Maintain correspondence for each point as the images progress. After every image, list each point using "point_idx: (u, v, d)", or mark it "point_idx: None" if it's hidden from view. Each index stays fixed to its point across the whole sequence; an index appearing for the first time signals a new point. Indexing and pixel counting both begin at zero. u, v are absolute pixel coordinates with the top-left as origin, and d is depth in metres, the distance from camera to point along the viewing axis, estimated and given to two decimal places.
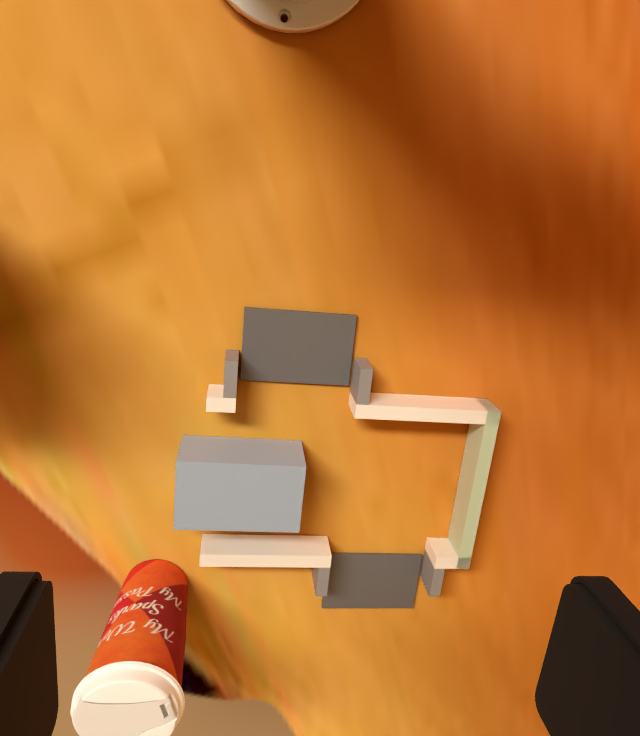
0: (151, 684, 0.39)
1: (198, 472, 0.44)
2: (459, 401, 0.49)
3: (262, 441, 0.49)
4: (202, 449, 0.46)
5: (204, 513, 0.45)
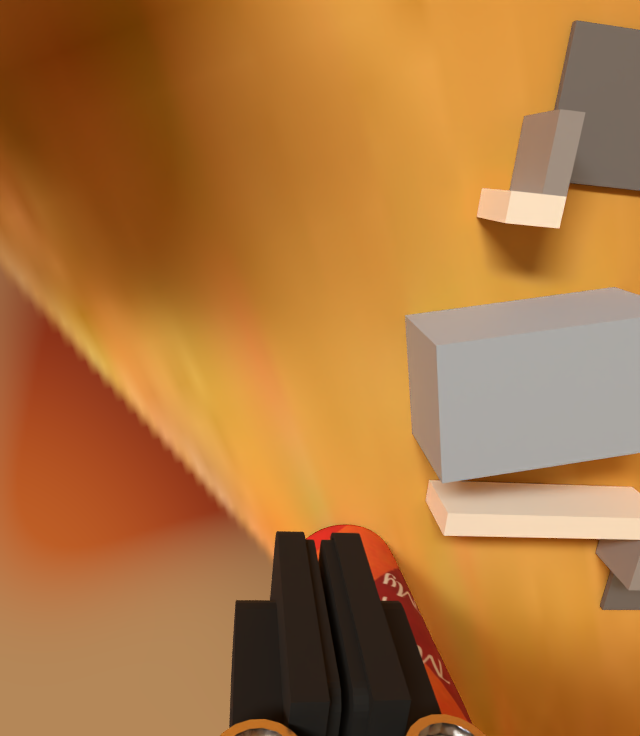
0: None
1: (480, 361, 0.22)
2: None
3: (550, 298, 0.26)
4: (462, 324, 0.24)
5: (497, 442, 0.23)
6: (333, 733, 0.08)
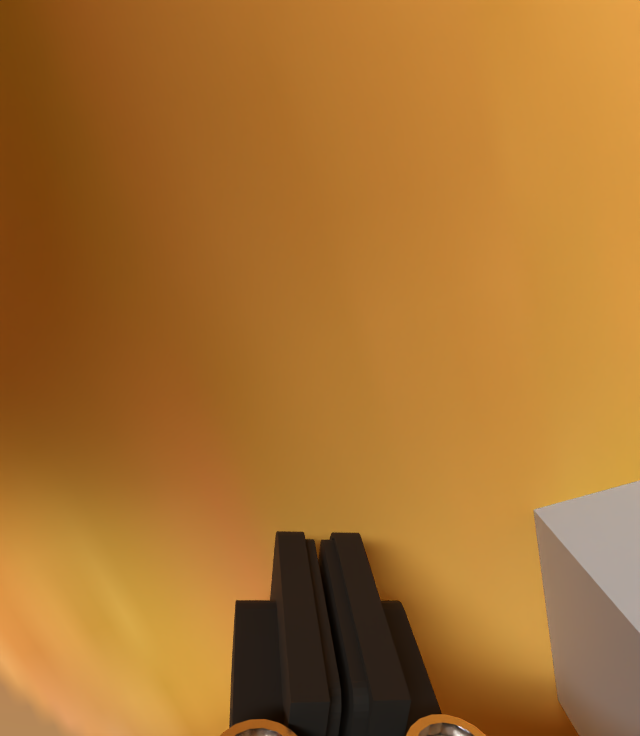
0: None
1: None
2: None
3: None
4: None
5: None
6: (333, 733, 0.08)
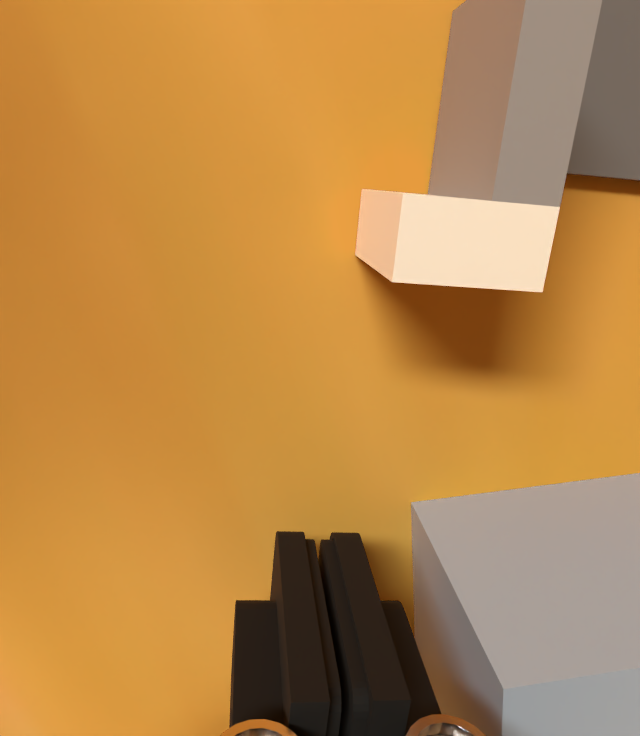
0: None
1: (612, 716, 0.09)
2: None
3: None
4: (550, 572, 0.10)
5: None
6: (333, 733, 0.08)
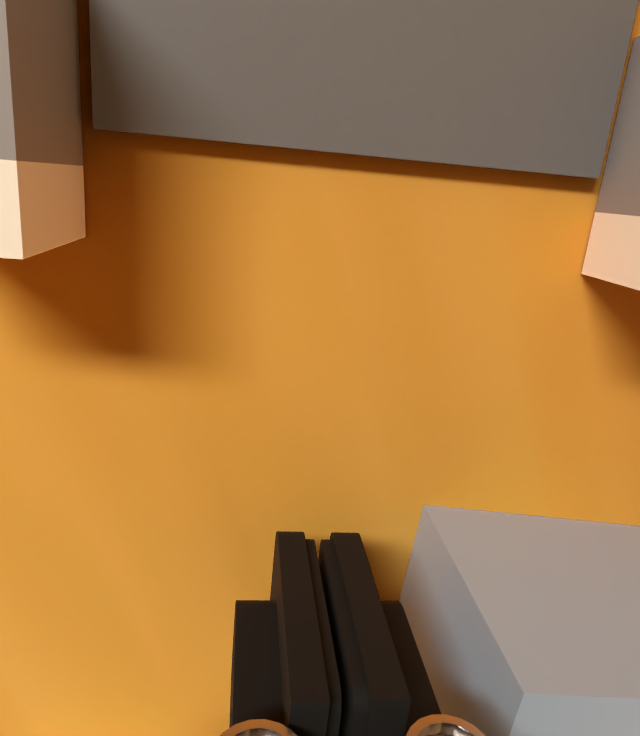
0: None
1: None
2: None
3: None
4: (562, 596, 0.10)
5: None
6: (333, 733, 0.08)
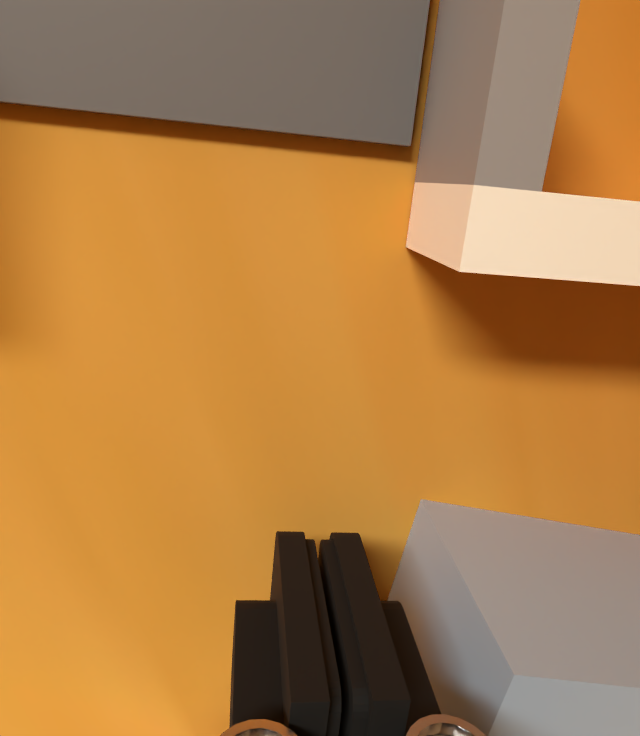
0: None
1: (593, 729, 0.09)
2: None
3: None
4: (550, 589, 0.11)
5: None
6: (333, 733, 0.08)
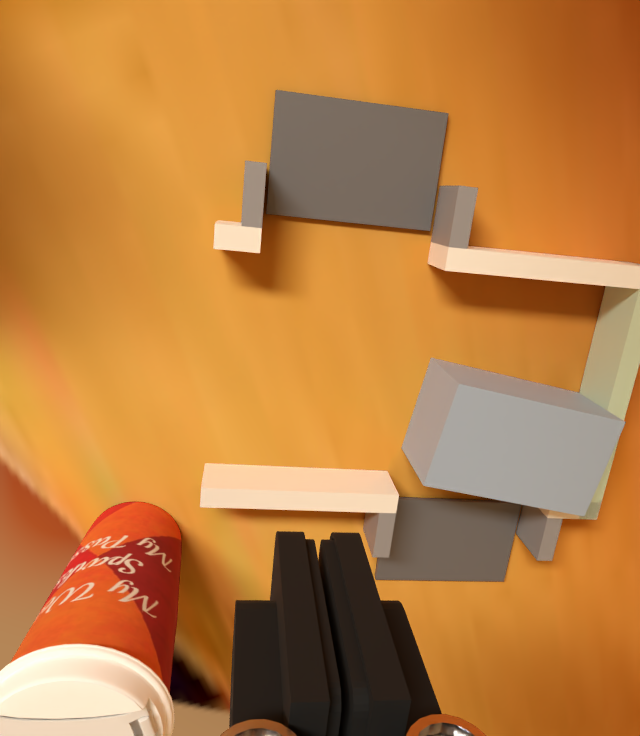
0: (115, 684, 0.22)
1: (483, 406, 0.30)
2: (595, 259, 0.33)
3: (534, 383, 0.35)
4: (475, 378, 0.32)
5: (472, 469, 0.31)
6: (333, 733, 0.08)
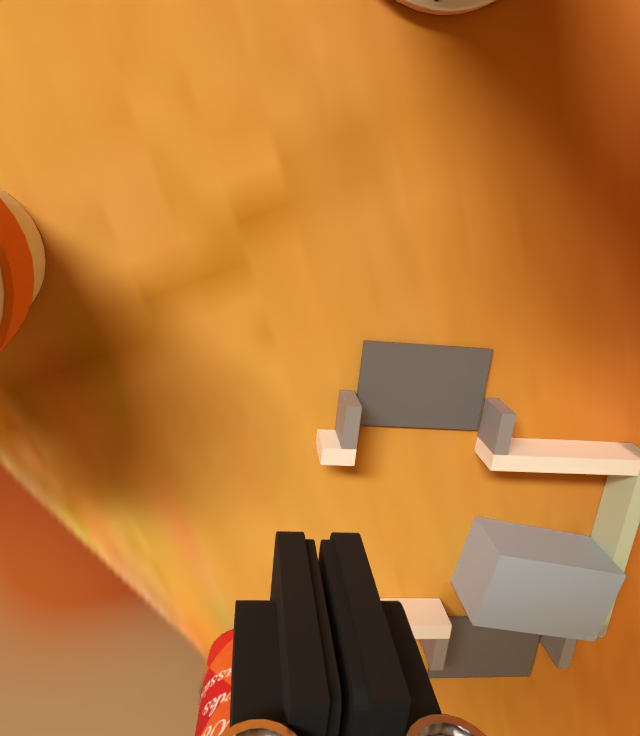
0: None
1: (519, 569, 0.40)
2: (604, 447, 0.42)
3: (555, 533, 0.45)
4: (511, 540, 0.42)
5: (509, 612, 0.41)
6: (333, 733, 0.08)
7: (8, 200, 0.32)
